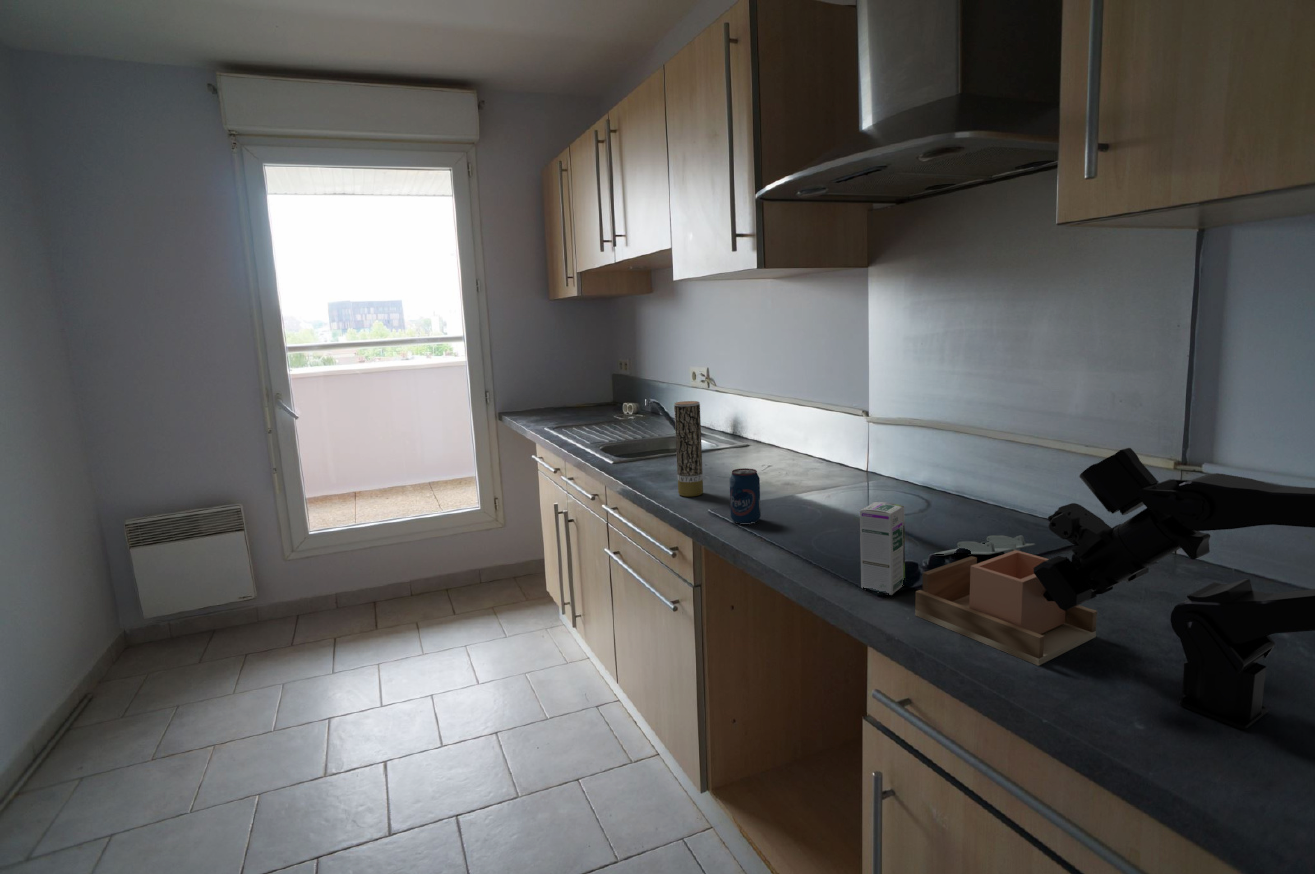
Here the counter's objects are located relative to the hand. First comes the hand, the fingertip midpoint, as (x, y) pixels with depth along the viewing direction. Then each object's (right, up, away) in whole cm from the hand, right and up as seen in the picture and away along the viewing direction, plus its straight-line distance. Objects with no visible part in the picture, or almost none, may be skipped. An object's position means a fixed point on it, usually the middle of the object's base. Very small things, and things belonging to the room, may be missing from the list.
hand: (1046, 597), depth 100 cm
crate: (-2, -5, +5) cm, 7 cm away
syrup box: (-16, -4, +24) cm, 29 cm away
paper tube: (-46, +7, +92) cm, 103 cm away
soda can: (-34, +3, +66) cm, 74 cm away
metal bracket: (+8, -1, +35) cm, 36 cm away
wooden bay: (-3, -6, +7) cm, 10 cm away
